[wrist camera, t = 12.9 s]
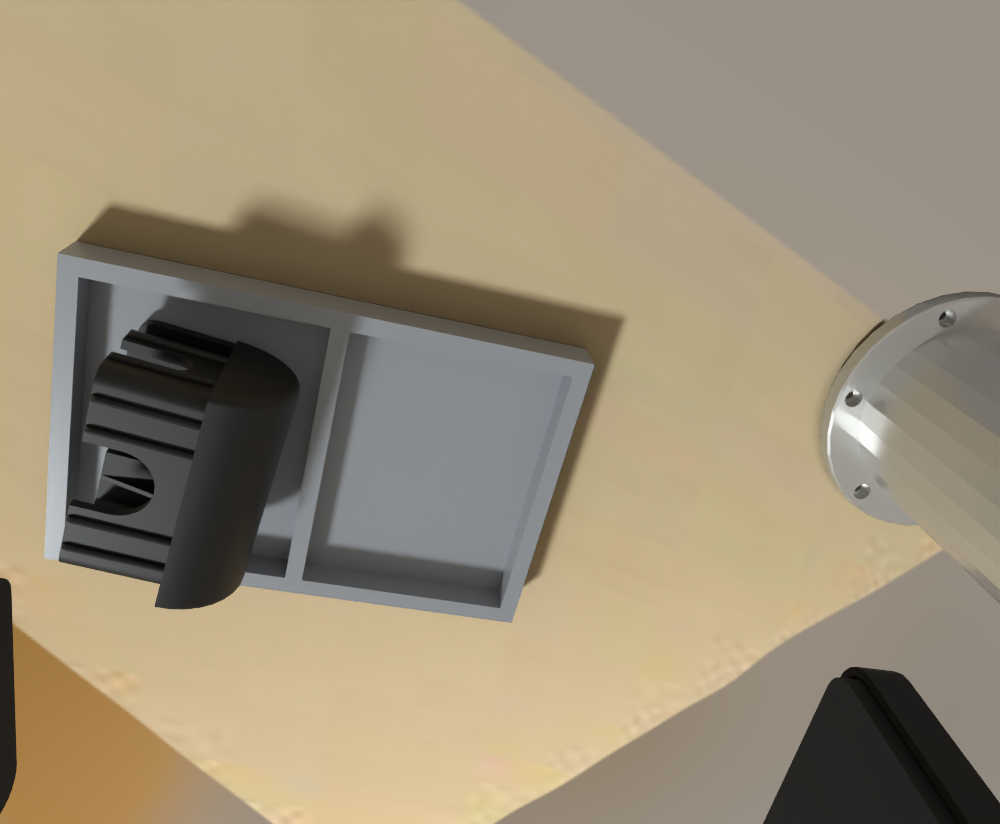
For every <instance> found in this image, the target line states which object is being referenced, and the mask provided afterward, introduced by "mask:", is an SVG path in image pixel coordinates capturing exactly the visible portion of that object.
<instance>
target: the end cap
mask: <svg viewBox="0 0 1000 824" xmlns="http://www.w3.org/2000/svg"><path fill="white" fill-rule="evenodd" d="M120 349H123V350H126V351H127V354H126V355H123V354H120V353H116V352H112V351H111V353H110V354H109V355H108V356H107V357H106V358H105V359H104V360H103V362H102V363H101V364H100V366H99V368H98V370H97V373H96V375H95V378H94V382H93V387H92V392H91V397H90V402H89V407H88V412H87V417H86V422H85V427H84V432H83V437H82V441H83V442H87V443H91V444H95V445H99V446H103V447H107V448H108V450H107V451H106V453H105V458H104V463H103V468H102V472H101V477H100V482H99V486H98V491H97V496H96V500H95V502H94V504H92V503H87V502H83V501H79V500H75V499H73V500H72V501H71V503H70V504H69V508H68V513H67V518H66V523H65V528H64V533H63V538H62V543H61V548H60V553H59V562H63V563H68V564H72V565H77V566H81V567H86V568H90V569H95V570H99V571H104V572H108V573H113V574H117V575H122V576H126V577H131V578H135V579H140V580H144V581H149V582H153V583H158V584H160V587H159V591H158V595H157V599H156V603H155V607H160V608H166V609H192V608H200V607H204V606H208V605H212V604H214V603H217V602H219V601H221V600H223V599H225V598H226V597H228V596H229V595H231V594H232V593H233V592H234V591H235V590H236V589H237V588H238V587H239V586H240V584H241V582H242V580H243V577H244V575H245V572H246V568H247V565H248V562H249V558H250V555H251V552H252V548H253V545H254V542H255V539H256V535H257V532H258V529H259V525H260V522H261V519H262V515H263V512H264V509H265V506H266V502H267V499H268V496H269V492H270V489H271V486H272V483H273V479H274V476H275V473H276V469H277V466H278V463H279V459H280V456H281V453H282V450H283V446H284V443H285V440H286V436H287V433H288V430H289V426H290V423H291V420H292V417H293V413H294V410H295V407H296V403H297V400H298V397H299V393H300V384H299V381H298V378H297V376H296V375H295V374H294V372H293V371H292V370H291V369H290V368H289V367H288V366H287V365H286V364H285V363H284V362H282V361H281V360H279V359H278V358H276V357H275V356H273V355H271V354H269V353H267V352H266V351H264V350H262V349H259V348H257V347H255V346H252V345H250V344H247V343H244V342H241V341H237V343H233V342H229V341H226V340H223V339H219V338H216V337H213V336H209V335H206V334H203V333H199V332H196V331H192V330H189V329H186V328H182V327H179V326H176V325H172V324H169V323H166V322H162V321H159V320H148V321H146V322H144V323H143V324H142V325H141V326H140V328H139V330H138V331H136V330H133V329H131V330H130V331H129V332H128V334H127V335H126V336H125V337H124V338H123V339H122V342H121V347H120Z"/></svg>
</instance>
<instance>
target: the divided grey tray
mask: <svg viewBox="0 0 1000 824" xmlns="http://www.w3.org/2000/svg"><path fill="white" fill-rule="evenodd" d="M148 320H159V321H162V322H166V323H169V324H172V325H176V326H179V327H182V328H186V329H189V330H192V331H196V332H199V333H203V334H206V335H209V336H213V337H216V338H219V339H223V340H226V341H229V342H233V343H237V341H241V342H244V343H247V344H250V345H252V346H255V347H257V348H259V349H262V350H264V351H266V352H267V353H269V354H271V355H273V356H275V357H276V358H278V359H279V360H281V361H282V362H284V363H285V364H286V365H287V366H288V367H289V368H290V369H291V370H292V371H293V372H294V374H295V375H296V376H297V378H298V381H299V384H300V393H299V397H298V400H297V403H296V407H295V410H294V413H293V417H292V420H291V423H290V426H289V430H288V433H287V436H286V440H285V443H284V446H283V450H282V453H281V456H280V459H279V463H278V466H277V469H276V473H275V476H274V479H273V483H272V486H271V489H270V492H269V496H268V499H267V502H266V506H265V509H264V512H263V515H262V519H261V522H260V525H259V529H258V532H257V535H256V539H255V542H254V545H253V548H252V552H251V555H250V558H249V562H248V565H247V568H246V572H245V575H244V577H243V580H242V582H241V584H240V585H241V586H248V587H255V588H263V589H270V590H277V591H284V592H292V593H299V594H306V595H313V596H321V597H328V598H335V599H342V600H350V601H357V602H364V603H372V604H379V605H386V606H393V607H401V608H408V609H415V610H422V611H430V612H437V613H444V614H451V615H459V616H466V617H473V618H480V619H488V620H495V621H502V622H509V623H512V619H513V616H514V613H515V610H516V607H517V604H518V601H519V598H520V595H521V592H522V588H523V585H524V582H525V579H526V576H527V573H528V570H529V567H530V564H531V561H532V557H533V554H534V551H535V548H536V545H537V542H538V539H539V536H540V533H541V530H542V526H543V523H544V520H545V517H546V514H547V511H548V508H549V505H550V502H551V499H552V495H553V492H554V489H555V486H556V483H557V480H558V477H559V474H560V471H561V468H562V464H563V461H564V458H565V455H566V452H567V449H568V446H569V443H570V440H571V437H572V433H573V430H574V427H575V424H576V421H577V418H578V415H579V412H580V409H581V406H582V402H583V399H584V396H585V393H586V390H587V387H588V384H589V381H590V378H591V375H592V371H593V368H594V365H595V364H594V362H593V361H592V359H591V357H590V355H589V353H588V352H587V350H586V349H585V348H580V347H575V346H571V345H566V344H561V343H557V342H552V341H547V340H542V339H538V338H533V337H528V336H523V335H519V334H514V333H509V332H504V331H500V330H495V329H490V328H485V327H481V326H476V325H471V324H466V323H462V322H457V321H452V320H447V319H443V318H438V317H433V316H428V315H424V314H419V313H414V312H409V311H405V310H400V309H395V308H391V307H386V306H381V305H376V304H372V303H367V302H362V301H357V300H353V299H348V298H343V297H338V296H334V295H329V294H324V293H319V292H315V291H310V290H305V289H300V288H296V287H291V286H286V285H281V284H277V283H272V282H267V281H262V280H258V279H253V278H248V277H243V276H239V275H234V274H229V273H224V272H220V271H215V270H210V269H206V268H201V267H196V266H191V265H187V264H182V263H177V262H172V261H168V260H163V259H158V258H153V257H149V256H144V255H139V254H134V253H130V252H125V251H120V250H115V249H111V248H106V247H101V246H96V245H92V244H87V243H82V242H77V241H75V242H74V243H72V244H71V245H69V246H68V247H66V248H65V249H63V250H62V251H60V252H59V253H58V259H57V281H56V304H55V327H54V350H53V372H52V395H51V418H50V441H49V463H48V486H47V509H46V532H45V554H44V558H45V559H52V560H59V553H60V548H61V543H62V538H63V533H64V528H65V523H66V518H67V513H68V508H69V504H70V503H71V501H72V500H73V499H75V500H79V501H83V502H87V503H92V504H94V502H95V500H96V496H97V491H98V486H99V482H100V477H101V472H102V468H103V463H104V458H105V453H106V451H107V450H108V448H107V447H103V446H99V445H95V444H91V443H87V442H83V441H82V437H83V432H84V427H85V422H86V417H87V412H88V407H89V402H90V397H91V392H92V387H93V382H94V378H95V375H96V373H97V370H98V368H99V366H100V364H101V363H102V362H103V360H104V359H105V358H106V357H107V356H108V355H109V354H110V353H111V351H112V352H116V353H120V354H123V355H126V354H127V351H126V350H123V349H120V347H121V342H122V339H123V338H124V337H125V336H126V335H127V334H128V332H129V331H130V330H131V329H133V330H136V331H138V330H139V328H140V326H141V325H142V324H143V323H144V322H146V321H148Z"/></svg>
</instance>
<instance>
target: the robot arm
mask: <svg viewBox="0 0 1000 824" xmlns="http://www.w3.org/2000/svg"><path fill="white" fill-rule="evenodd" d="M820 445H821V454H822V459H823V461H824V464H825V467H826V470H827V472H828V475H829V476H830V478H831V479H832V481H833V482H834V484H835V485H836V487H837V488H838V490H839V491H840V492H841V493H842V494H843V495H844V496H845V497H846V498H847V499H848V500H849V501H850V502H851V503H852V504H853V505H854V506H856V507H857V508H859V509H860V510H861V511H863V512H864V513H866V514H867V515H869V516H872V517H874V518H877V519H879V520H882V521H884V522H888V523H894V524H899V525H919V526H920V527H921V528H922V529H923V530H924V531H925V532H926V533H927V534H928V535H929V536H930V537H931V538H932V539H933V540H934V541H935V542H936V543H937V544H938V545H939V546H940V547H942V548H943V549H944V550H945V551H946V552H947V553H948V554H949V555H950V556H951V557H952V558H953V559H954V560H955V561H956V562H957V563H958V564H959V565H960V566H961V567H962V568H963V569H964V570H965V571H966V572H967V573H968V574H969V575H970V576H971V577H973V578H974V579H975V580H976V581H977V582H978V583H979V584H980V585H981V586H982V587H983V588H984V589H985V590H986V591H987V592H988V593H989V594H990V595H991V596H992V597H993V598H994V599H995V600H996V601H997V602H998V603H999V604H1000V295H998V294H994V293H989V292H961V293H955V294H949V295H943V296H939V297H936V298H933V299H931V300H928V301H925V302H922V303H919V304H917V305H915V306H913V307H911V308H909V309H907V310H905V311H904V312H902V313H900V314H898V315H896V316H894V317H893V318H891V319H890V320H889V321H887V322H886V323H885V324H883V325H882V326H881V327H879V328H878V329H877V330H875V331H874V332H873V333H872V334H871V335H870V336H869V337H868V338H867V339H866V340H865V341H864V342H863V343H862V344H861V345H860V346H859V347H858V348H857V349H856V350H855V351H854V352H853V354H852V355H851V356H850V358H849V359H848V360H847V362H846V363H845V365H844V366H843V367H842V369H841V370H840V372H839V373H838V375H837V377H836V379H835V381H834V383H833V385H832V387H831V389H830V391H829V393H828V396H827V400H826V403H825V406H824V410H823V413H822V418H821V428H820ZM12 631H13V629H12V596H11V585H10V583H9V581H8V580H7V579H4V578H0V813H1V812H2V810H3V808H4V806H5V804H6V802H7V800H8V798H9V795H10V793H11V790H12V787H13V783H14V779H15V775H16V766H17V760H16V728H15V695H14V663H13V632H12ZM763 824H1000V803H999V802H998V800H997V799H996V797H995V796H994V795H993V793H992V792H991V791H990V789H989V788H988V787H987V785H986V784H985V783H984V781H983V780H982V779H981V777H980V776H979V775H978V773H977V772H976V770H975V769H974V768H973V766H972V765H971V764H970V763H969V761H968V760H967V758H966V757H965V756H964V755H963V753H962V752H961V751H960V749H959V748H958V746H957V745H956V744H955V742H954V741H953V740H952V738H951V737H950V735H949V734H948V733H947V732H946V730H945V729H944V728H943V726H942V725H941V723H940V722H939V721H938V719H937V718H936V717H935V715H934V714H933V713H932V711H931V710H930V709H929V707H928V706H927V705H926V703H925V702H924V701H923V699H922V698H921V696H920V695H919V694H918V692H916V690H915V689H914V687H913V686H912V684H911V683H910V682H909V681H908V680H907V679H906V678H905V677H904V676H903V675H902V674H900V673H897V672H893V671H886V670H878V669H869V668H861V667H850V668H848V669H847V670H846V671H844V672H843V674H842V676H841V677H840V678H834V679H833V680H832V681H831V682H830V683H829V685H828V687H827V689H826V691H825V693H824V695H823V697H822V699H821V702H820V704H819V706H818V708H817V710H816V712H815V714H814V716H813V719H812V721H811V723H810V725H809V727H808V729H807V732H806V734H805V735H804V738H803V740H802V742H801V744H800V746H799V748H798V750H797V753H796V755H795V757H794V759H793V761H792V763H791V765H790V767H789V770H788V772H787V774H786V776H785V778H784V780H783V782H782V784H781V787H780V789H779V791H778V793H777V795H776V797H775V799H774V802H773V804H772V806H771V808H770V810H769V812H768V814H767V816H766V819H765V821H764V823H763Z"/></svg>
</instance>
